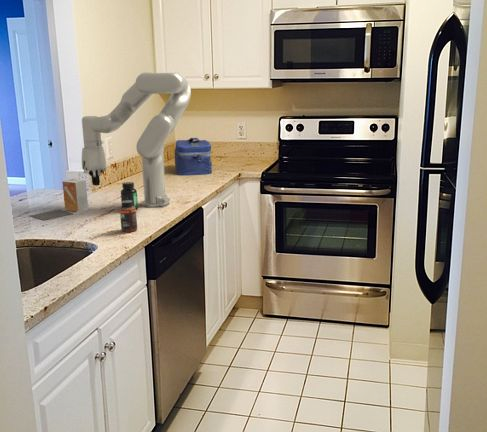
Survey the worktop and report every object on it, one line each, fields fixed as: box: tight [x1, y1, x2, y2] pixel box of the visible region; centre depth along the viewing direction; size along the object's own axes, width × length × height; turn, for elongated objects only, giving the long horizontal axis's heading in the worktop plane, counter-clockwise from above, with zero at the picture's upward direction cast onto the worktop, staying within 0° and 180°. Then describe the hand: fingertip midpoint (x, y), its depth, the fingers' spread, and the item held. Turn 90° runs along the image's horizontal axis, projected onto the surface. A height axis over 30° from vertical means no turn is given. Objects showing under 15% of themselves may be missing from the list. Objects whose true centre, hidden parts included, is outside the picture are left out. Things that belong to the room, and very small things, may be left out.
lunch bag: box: [174, 137, 213, 177], centre depth 333 cm, size 31×21×20 cm
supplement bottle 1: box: [120, 181, 139, 211], centre depth 242 cm, size 7×7×12 cm
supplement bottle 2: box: [119, 200, 138, 233], centre depth 210 cm, size 6×6×11 cm
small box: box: [61, 178, 89, 213], centre depth 245 cm, size 8×6×13 cm
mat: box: [28, 208, 75, 221], centre depth 238 cm, size 12×14×1 cm
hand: (96, 184), depth 252 cm, fingers closed
